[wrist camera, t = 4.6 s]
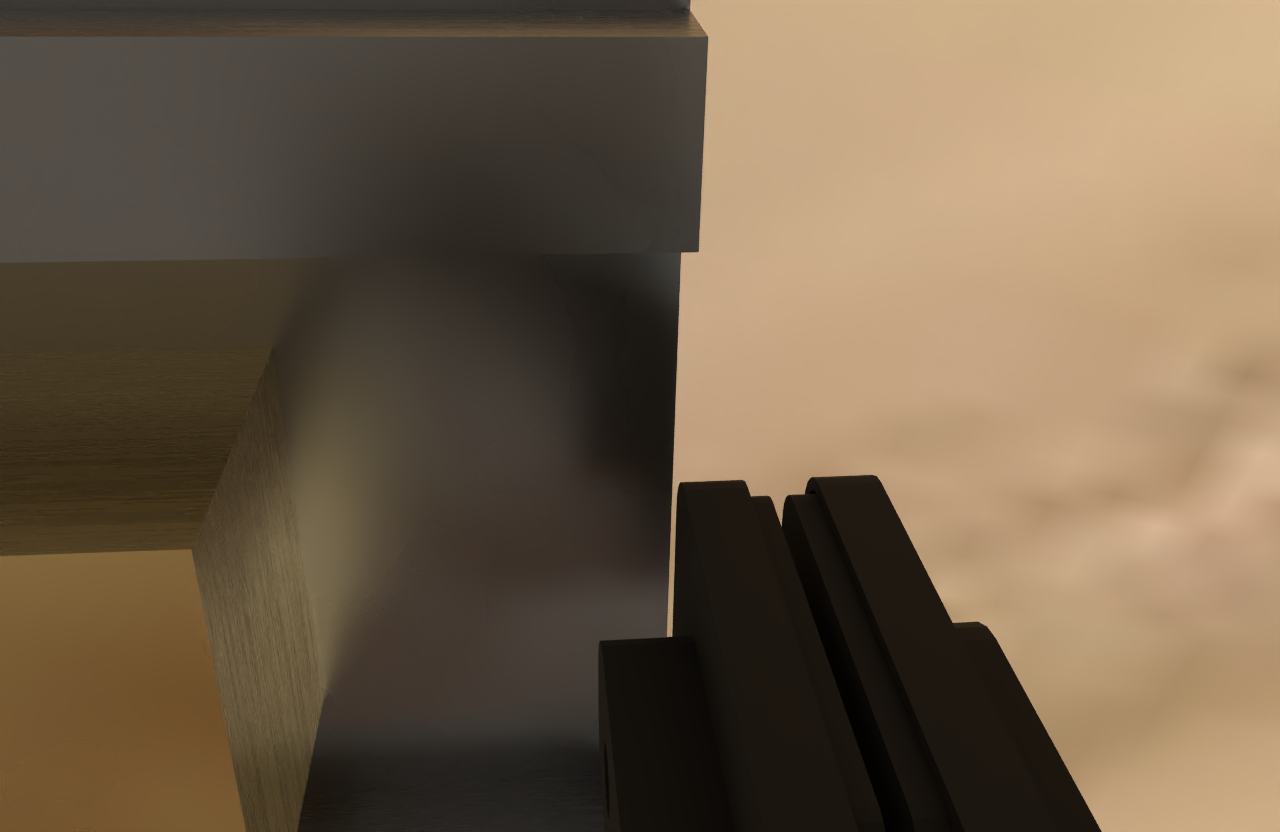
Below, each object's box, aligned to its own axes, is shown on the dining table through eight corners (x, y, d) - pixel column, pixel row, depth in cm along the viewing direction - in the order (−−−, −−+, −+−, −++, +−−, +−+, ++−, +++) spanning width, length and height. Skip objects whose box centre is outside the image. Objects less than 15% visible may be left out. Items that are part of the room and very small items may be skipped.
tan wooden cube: (-221, 358, 10) (-481, 572, 7) (272, 348, 10) (190, 550, 8) (-91, 723, 12) (-260, 996, 9) (322, 704, 12) (271, 960, 10)
